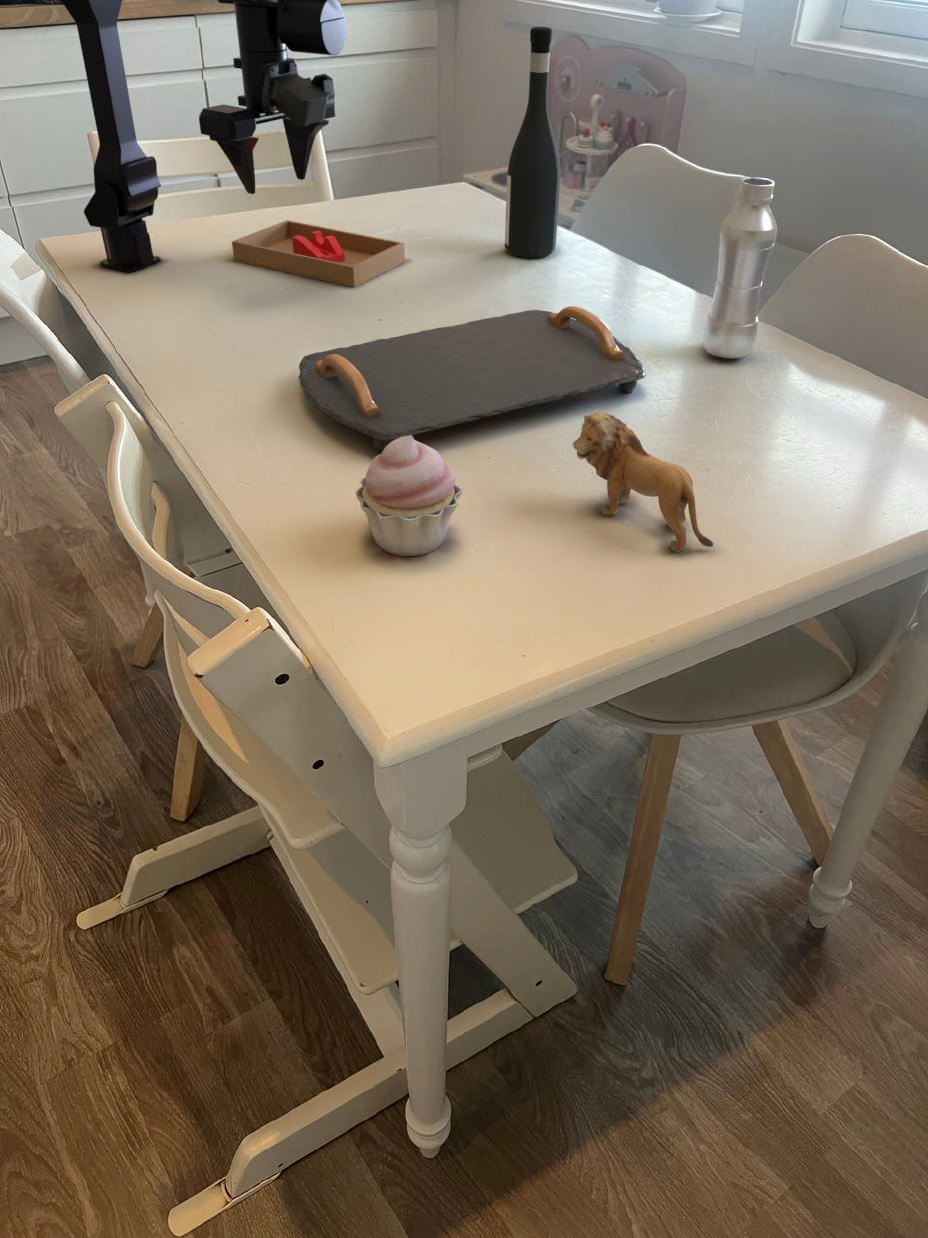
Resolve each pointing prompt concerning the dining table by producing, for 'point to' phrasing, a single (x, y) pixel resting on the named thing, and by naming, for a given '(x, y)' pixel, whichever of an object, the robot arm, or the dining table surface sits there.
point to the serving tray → (466, 372)
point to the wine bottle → (534, 165)
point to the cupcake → (409, 497)
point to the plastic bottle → (741, 271)
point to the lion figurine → (637, 473)
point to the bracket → (319, 247)
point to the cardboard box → (277, 253)
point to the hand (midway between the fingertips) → (276, 185)
